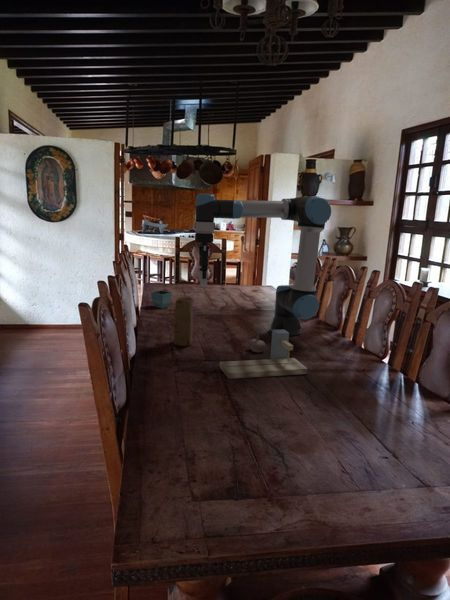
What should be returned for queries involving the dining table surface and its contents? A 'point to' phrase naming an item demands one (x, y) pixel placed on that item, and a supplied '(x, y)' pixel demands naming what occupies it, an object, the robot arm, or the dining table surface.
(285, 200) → the robot arm
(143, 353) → the dining table surface
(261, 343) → the garlic bulb
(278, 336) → the hammer
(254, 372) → the board
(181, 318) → the stone
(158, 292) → the flower pot
